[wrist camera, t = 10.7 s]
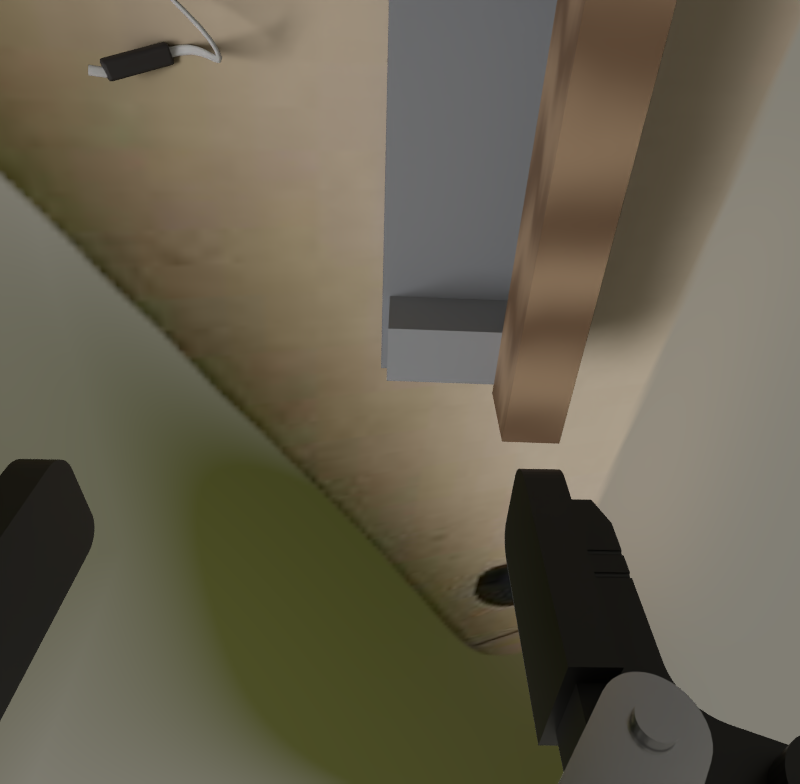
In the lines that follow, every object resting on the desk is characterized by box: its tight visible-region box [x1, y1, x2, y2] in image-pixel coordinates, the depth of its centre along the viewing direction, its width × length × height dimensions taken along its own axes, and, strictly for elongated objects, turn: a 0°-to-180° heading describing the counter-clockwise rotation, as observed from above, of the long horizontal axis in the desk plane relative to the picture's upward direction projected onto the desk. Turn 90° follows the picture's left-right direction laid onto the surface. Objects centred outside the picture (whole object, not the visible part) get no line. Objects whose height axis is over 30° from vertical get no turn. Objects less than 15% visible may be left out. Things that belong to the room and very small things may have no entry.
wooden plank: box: [492, 0, 677, 443], centre depth 29 cm, size 28×4×5 cm, turn 178°
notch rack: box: [381, 0, 557, 384], centre depth 33 cm, size 30×13×9 cm, turn 178°
